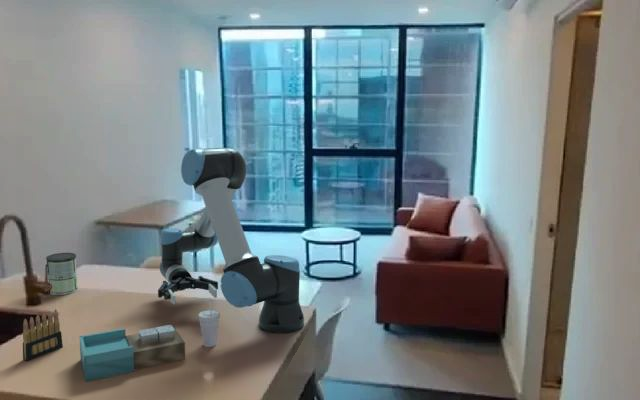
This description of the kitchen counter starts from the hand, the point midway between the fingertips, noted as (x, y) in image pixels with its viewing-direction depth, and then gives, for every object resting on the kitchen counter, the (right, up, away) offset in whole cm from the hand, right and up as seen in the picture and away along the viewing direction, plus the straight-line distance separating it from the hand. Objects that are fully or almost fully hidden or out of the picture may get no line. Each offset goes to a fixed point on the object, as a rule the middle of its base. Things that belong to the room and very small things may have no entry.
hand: (195, 296), depth 163 cm
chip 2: (-4, -8, -18) cm, 20 cm away
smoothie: (+7, -13, -10) cm, 18 cm away
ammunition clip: (-39, -13, -18) cm, 45 cm away
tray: (-18, -14, -25) cm, 34 cm away
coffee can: (-60, -4, +34) cm, 69 cm away
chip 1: (-8, -8, -20) cm, 23 cm away
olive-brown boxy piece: (-7, -13, -18) cm, 24 cm away
